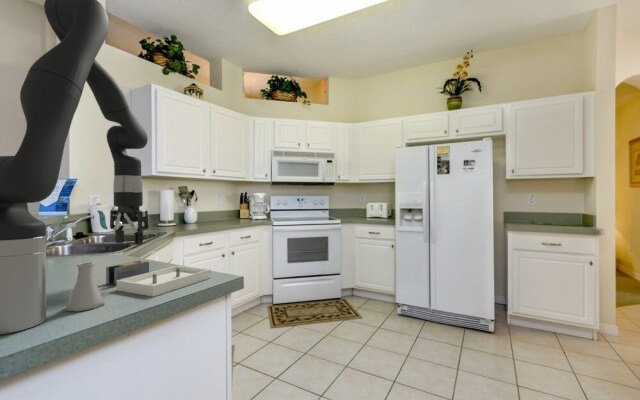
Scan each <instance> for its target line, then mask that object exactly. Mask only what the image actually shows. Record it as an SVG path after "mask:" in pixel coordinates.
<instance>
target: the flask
mask: <svg viewBox="0 0 640 400" xmlns="http://www.w3.org/2000/svg"><path fill="white" fill-rule="evenodd" d="M94 266H95V263H94V262H90V261H89V262H81V263H77V264H76V267H77V268H78V269H77V270H78V271H77V272H78V273H77V278H76V281H75V283H74V286H73V289H72V292H71V294H70V296H69V299H68V301H67V303H66V305H65V309H66V311H67V312H82V311H86V310H92V309H95V308H98V307H100V306H103V305H106V303H105V300H104V298H103V296H102V293H101V292H100V290H99V287H98V285H97V283H96V281H95V275H94V269H93V267H94Z"/></svg>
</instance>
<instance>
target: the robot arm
mask: <svg viewBox="0 0 640 400" xmlns="http://www.w3.org/2000/svg"><path fill="white" fill-rule="evenodd" d="M43 10H44V14H45V17H46V19H47V21H48V24H49V26H50V28H51V29H52V31H53V32H54V35H55V36H56V37H57V39H58V40H59V43H57V44H56V45H55V46H54V47H52V48H51V49H49V50H48V51H47V52H45V53H44V54H42V55H41V56H39V58H38V59H37V60H36V61H34V62H33V64H31V66H30V67H29V70H28V71H27V74H26V77H25V79H24V81H23V84H22V86H21V88H20V93H19V100H20V106H21V108H22V112H23V114H24V117H25V122H26V130H25V134H24V137H23V138H22V141H21V143H20V147H19V148H18V150H17V151H16V153H15V154H14V155H0V335H6V334H11V333H15V332H19V331H24V330H27V329H30V328H32V327H35V326H38V325H40V324H43V323H44V322H45V321H47V311H48V309H47V227H46V223H45V222H44V221H42V220H41V219H38V218H37V217H35V216H33V215H32V213H31V212H30V211H29V207H28V206H29V205H28V204H30V203H31V204H32V203H33V204H34V203H39V202H43V201H44V200H46V199H48V198H49V197H50V196H51V194H52V193H53V192H54V191H55V189H56V186H57V183H58V179H59V175H60V170H61V165H62V161H63V155H64V149H65V145H66V142H67V139H68V135H69V132H70V128H71V125H72V122H73V119H74V116H75V113H76V112H77V108H78V106H79V103H80V100H81V98H82V96H83V91H84V87H85V84H86V83H87V85H88V87H89V89H90V90H91V92H92V94H93V96H94V98H95V100H96V103H97V105H98V107H99V110H100V112H101V113H102V116H103V117H104V119H106V120H107V121H109V122H113V123H116V124H119V125H113V126H111V127H110V128H108V130H107V132H106V142H107V145H108V148H109V151H110V153H111V157H112V160H113V169H114V171H113V172H114V173H113V174H114V177H113V183H112V185H113V189H112V190H113V206H114V207H117V209H110V211H109V217H110V218H109V228H110V229H111V230H112V229H113V231H114V232H115V233H114V234H115V243H116V244H123V243H124V242H125V228H126V226H128V225H129V226H130V228H132V229H133V232H134V233H133V243H134V245H135V246H138V245H143V242H144V232H145V231H147V230H149V211H148V209H141V210H140V207H143V205H144V204H143V202H144V201H143V200H144V199H143V198H144V197H143V179H142V162H141V159H140V158H139V157H136V156H130V155H129V154H128V152H127V150H141V149H143V148H145V147H146V146H147V144H148V133H147V131H146V130H145V128H144V126H143V125H142V124H141V123H140V121H139V120H138V118H137V117H136V116H135V114H134V113H133V112H132V111H131V108H130V106H129V103H128V101H127V99H126V96H125V93H124V91H123V89H122V88H121V86H120V84H119V83H118V81H116V79H115V78H114V77H113V76H112V75H111V74H110V73H109V72H108V71H107V69H105V68H104V67H103V66H102V65H101V64H100V63H99V61H97V55H98V54H99V52H100V50H101V48H102V46H103V44H104V42H105V41H106V39H107V36H108V33H109V25H110V23H109V16H108V13H107V11H106V8H105V7H104V6H103V5H102V3H101V2H99V1H98V0H45V1H44V3H43Z"/></svg>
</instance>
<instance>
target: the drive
mask: <svg viewBox="0 0 640 400" xmlns="http://www.w3.org/2000/svg"><path fill="white" fill-rule="evenodd" d="M149 272H150V262H149V261H142V260H135V261H131V262H124V263H120V264H115V265H109V266H106V267H105V273H106V274H105V285H111V284H114V286H116V280H120V279H124V278H129V277H133V276H137V275H141V274H145V273H149Z"/></svg>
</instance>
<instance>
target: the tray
mask: <svg viewBox="0 0 640 400" xmlns="http://www.w3.org/2000/svg"><path fill="white" fill-rule="evenodd" d="M208 278H209V279H211V268H201V267H193V266H192V267H191V266H183V265H174V266H169V267H166V268H162V269H158V270H154V271H149V273H145V274H141V275H137V276H133V277H129V278H124V279H120V280H116V285H115V287H116V291H118V292H124V293H125V292H126V293H131V294H137V295H141V296H147V297H156V296H159V295H163V294H165V293H168V292H172V291H174V290H179V289H181V288H184V287H187V286H190V285H192V284H193V285H194V284H196V283H200V282H202V281H206V280H208Z"/></svg>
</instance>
